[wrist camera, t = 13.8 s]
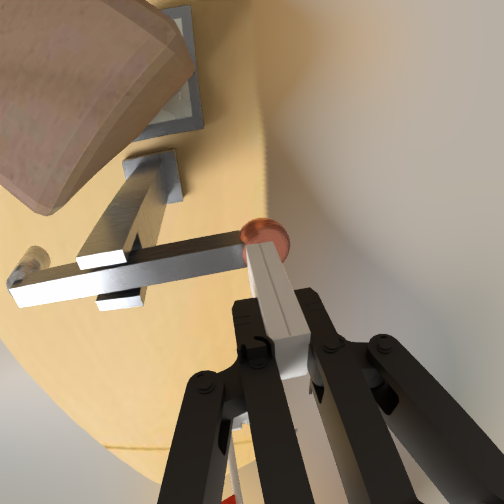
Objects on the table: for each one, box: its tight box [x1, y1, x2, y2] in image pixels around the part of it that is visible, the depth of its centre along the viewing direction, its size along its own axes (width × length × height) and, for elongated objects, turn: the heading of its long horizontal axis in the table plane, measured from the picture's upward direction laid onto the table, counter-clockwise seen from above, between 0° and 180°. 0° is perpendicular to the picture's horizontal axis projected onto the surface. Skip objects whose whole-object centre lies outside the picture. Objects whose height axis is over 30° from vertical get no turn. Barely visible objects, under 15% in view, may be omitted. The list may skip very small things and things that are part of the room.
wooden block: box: [0, 0, 195, 216], centre depth 15 cm, size 10×10×20 cm
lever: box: [7, 218, 290, 308], centre depth 17 cm, size 3×20×6 cm, turn 95°
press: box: [76, 5, 204, 311], centre depth 19 cm, size 22×13×20 cm, turn 5°
